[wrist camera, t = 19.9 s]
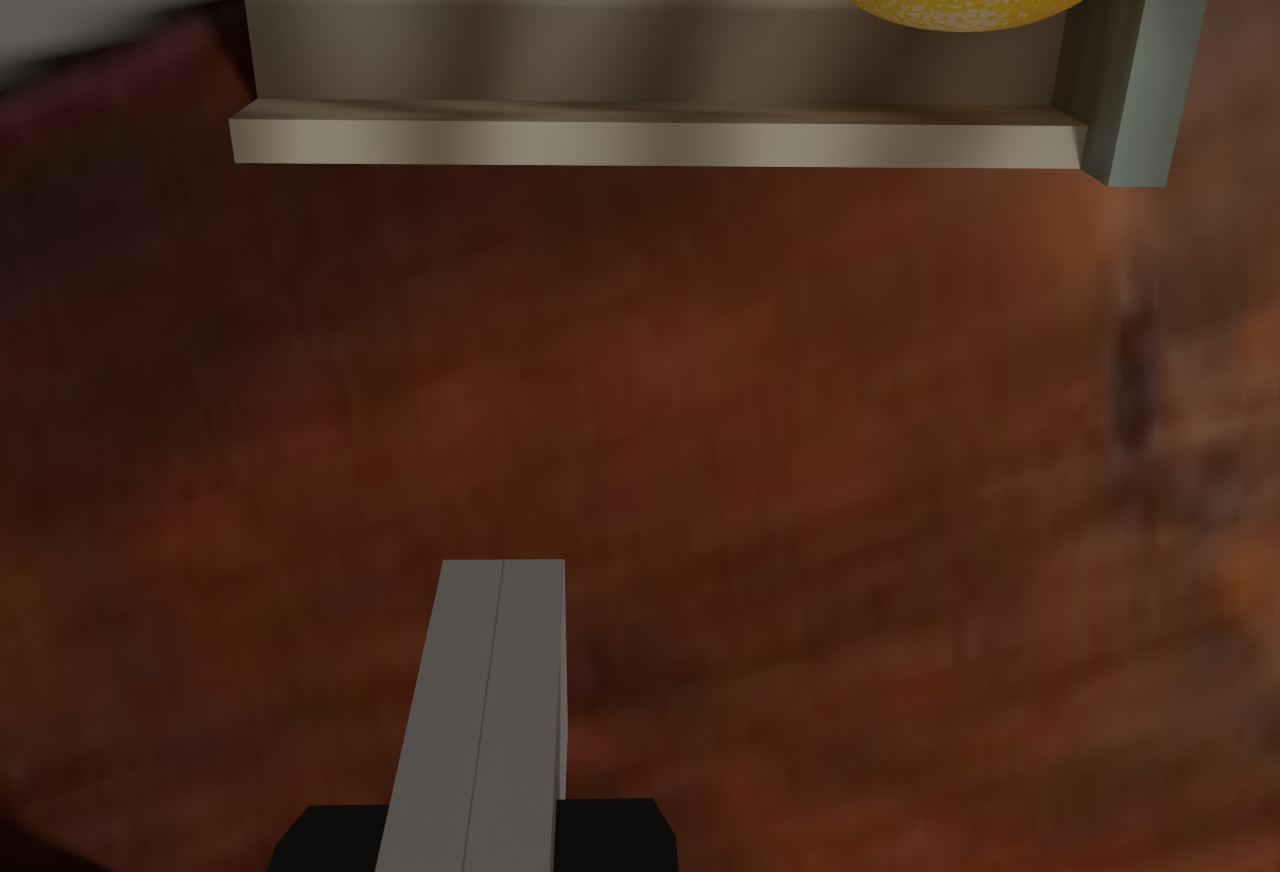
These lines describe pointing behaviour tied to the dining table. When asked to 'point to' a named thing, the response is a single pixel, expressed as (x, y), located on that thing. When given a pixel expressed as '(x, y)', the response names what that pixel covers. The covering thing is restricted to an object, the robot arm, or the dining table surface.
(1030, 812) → the dining table surface
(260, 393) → the dining table surface
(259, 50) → the channel
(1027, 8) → the fruit
